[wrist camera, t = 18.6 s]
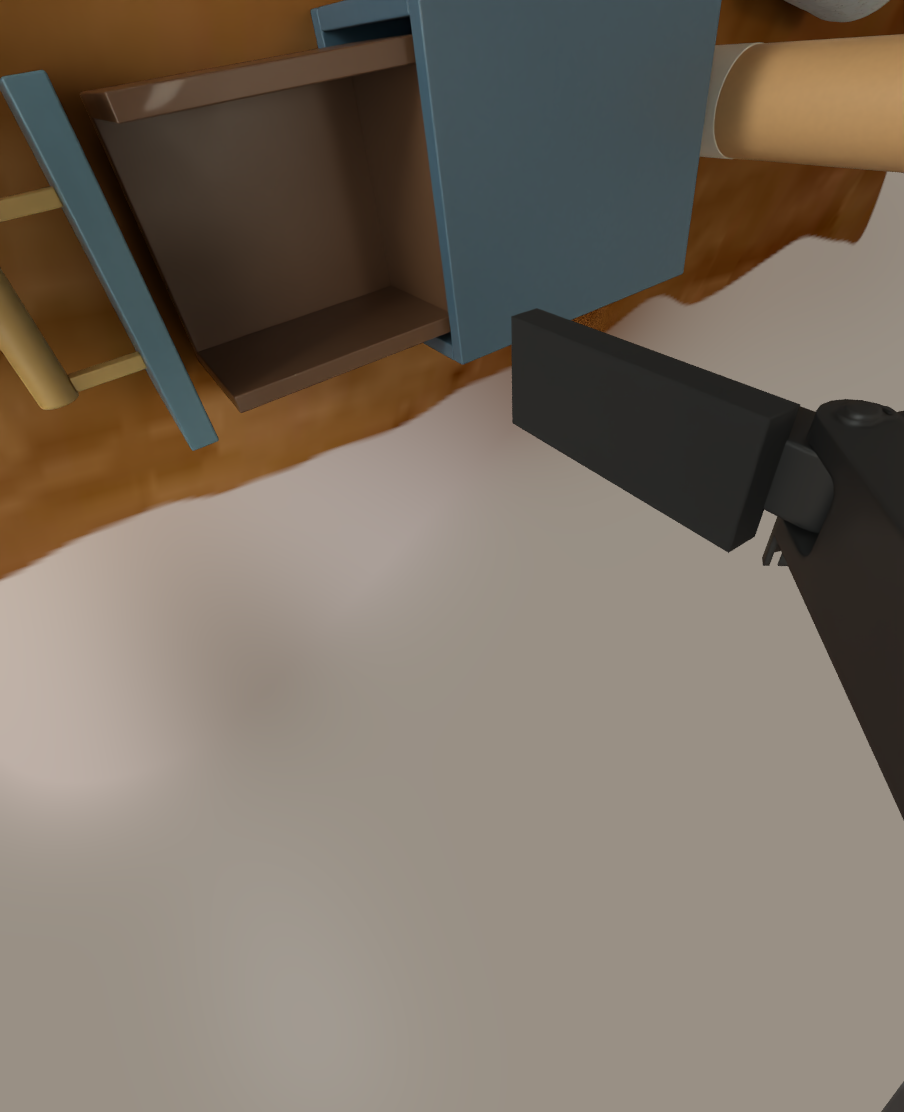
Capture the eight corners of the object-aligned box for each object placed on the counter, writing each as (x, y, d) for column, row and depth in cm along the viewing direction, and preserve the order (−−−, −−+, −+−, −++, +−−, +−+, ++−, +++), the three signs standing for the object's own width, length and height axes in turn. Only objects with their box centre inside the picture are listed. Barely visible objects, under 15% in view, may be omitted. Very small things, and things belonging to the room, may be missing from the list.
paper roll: (617, 103, 36) (985, 109, 23) (672, 24, 35) (1087, -18, 22) (647, 171, 40) (976, 209, 27) (697, 101, 39) (1062, 104, 26)
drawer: (68, 421, 28) (87, 494, 23) (-142, 104, 20) (-186, 108, 15) (399, 303, 34) (472, 340, 29) (346, 21, 26) (437, 3, 21)
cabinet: (375, 316, 35) (462, 365, 28) (309, 9, 26) (416, -19, 19) (572, 245, 40) (683, 273, 33) (577, -33, 31) (731, -67, 24)
